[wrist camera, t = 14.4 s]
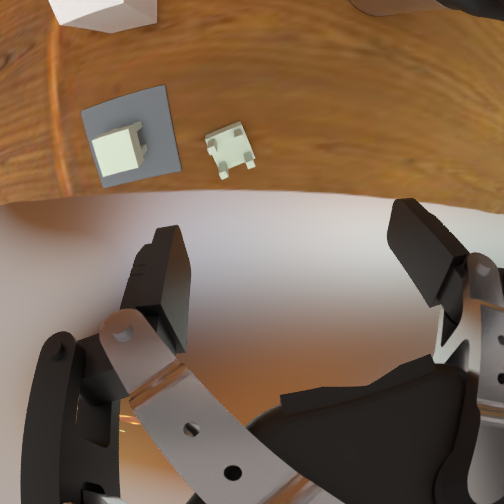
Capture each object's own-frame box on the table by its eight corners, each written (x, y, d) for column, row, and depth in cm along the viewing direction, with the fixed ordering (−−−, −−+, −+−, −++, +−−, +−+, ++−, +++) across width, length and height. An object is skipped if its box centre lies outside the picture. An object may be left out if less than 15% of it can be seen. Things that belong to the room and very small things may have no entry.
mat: (82, 110, 32) (80, 111, 31) (165, 84, 32) (164, 84, 32) (104, 186, 41) (103, 188, 40) (181, 169, 41) (181, 171, 40)
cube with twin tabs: (110, 127, 34) (91, 140, 29) (142, 118, 34) (128, 128, 29) (118, 159, 38) (103, 177, 32) (150, 151, 38) (138, 167, 32)
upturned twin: (205, 134, 38) (203, 147, 33) (240, 120, 37) (243, 131, 32) (220, 165, 41) (220, 182, 36) (253, 152, 41) (258, 167, 35)
